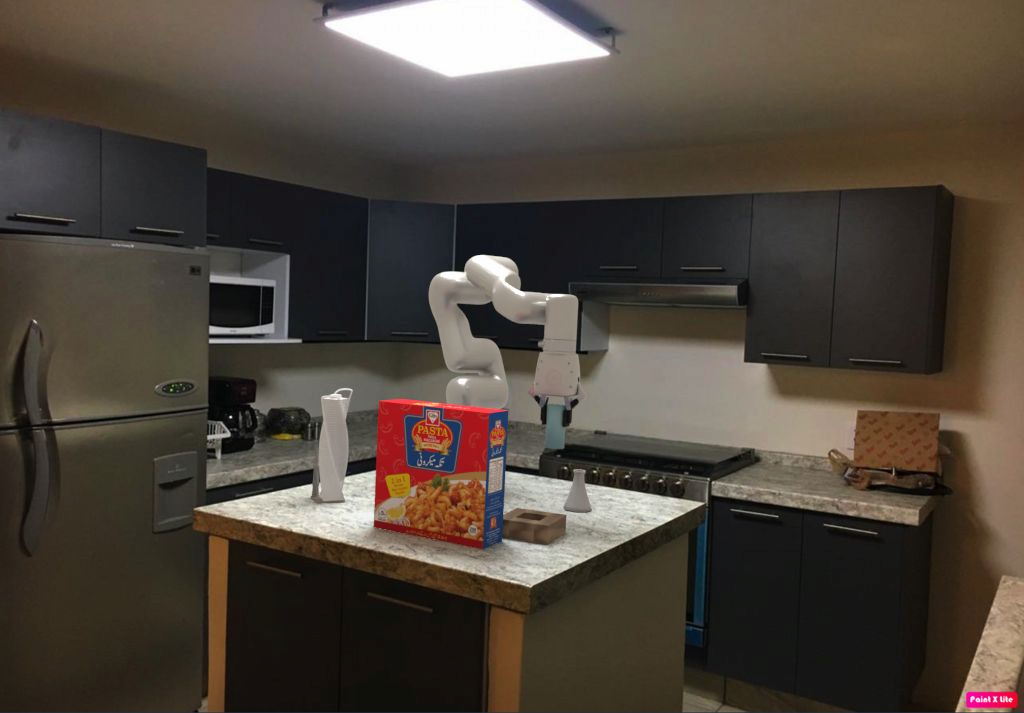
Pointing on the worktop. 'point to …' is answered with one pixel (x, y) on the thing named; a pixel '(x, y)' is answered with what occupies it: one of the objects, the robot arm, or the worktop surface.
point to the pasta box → (441, 471)
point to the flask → (578, 494)
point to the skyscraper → (332, 450)
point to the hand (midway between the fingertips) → (555, 424)
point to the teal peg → (555, 427)
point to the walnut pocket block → (533, 525)
